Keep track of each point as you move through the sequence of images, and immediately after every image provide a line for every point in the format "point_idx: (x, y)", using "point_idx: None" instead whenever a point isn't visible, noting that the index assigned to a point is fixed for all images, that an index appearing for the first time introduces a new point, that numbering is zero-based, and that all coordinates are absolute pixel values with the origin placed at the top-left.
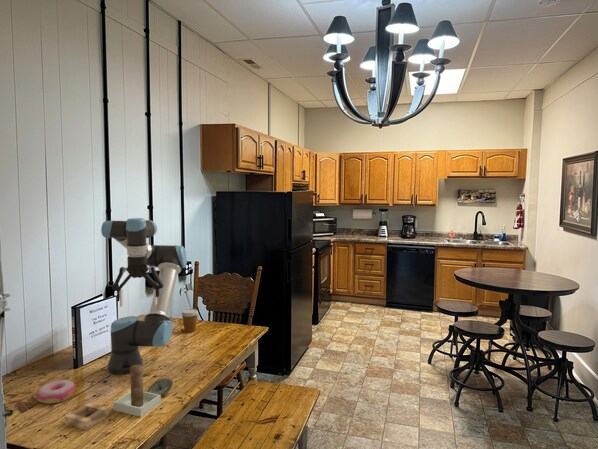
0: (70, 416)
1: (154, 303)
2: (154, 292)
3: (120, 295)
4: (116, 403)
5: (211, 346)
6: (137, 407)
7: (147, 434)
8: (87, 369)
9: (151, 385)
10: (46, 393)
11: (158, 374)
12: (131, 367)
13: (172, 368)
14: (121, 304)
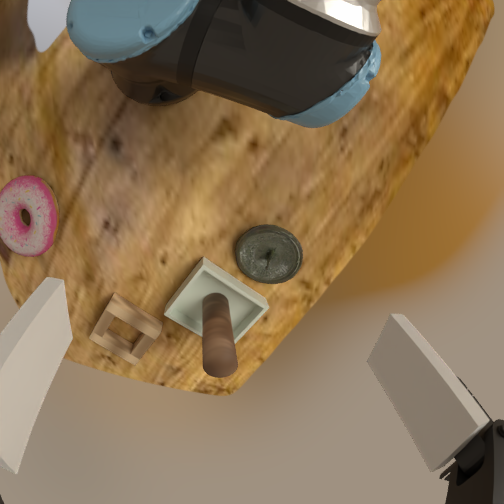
0: (98, 341)
1: (377, 372)
2: (427, 452)
3: (21, 426)
4: (172, 319)
5: (409, 16)
6: None
7: (240, 383)
8: (65, 58)
9: (246, 234)
10: (16, 251)
11: (264, 135)
12: (206, 366)
13: None
14: (62, 352)
